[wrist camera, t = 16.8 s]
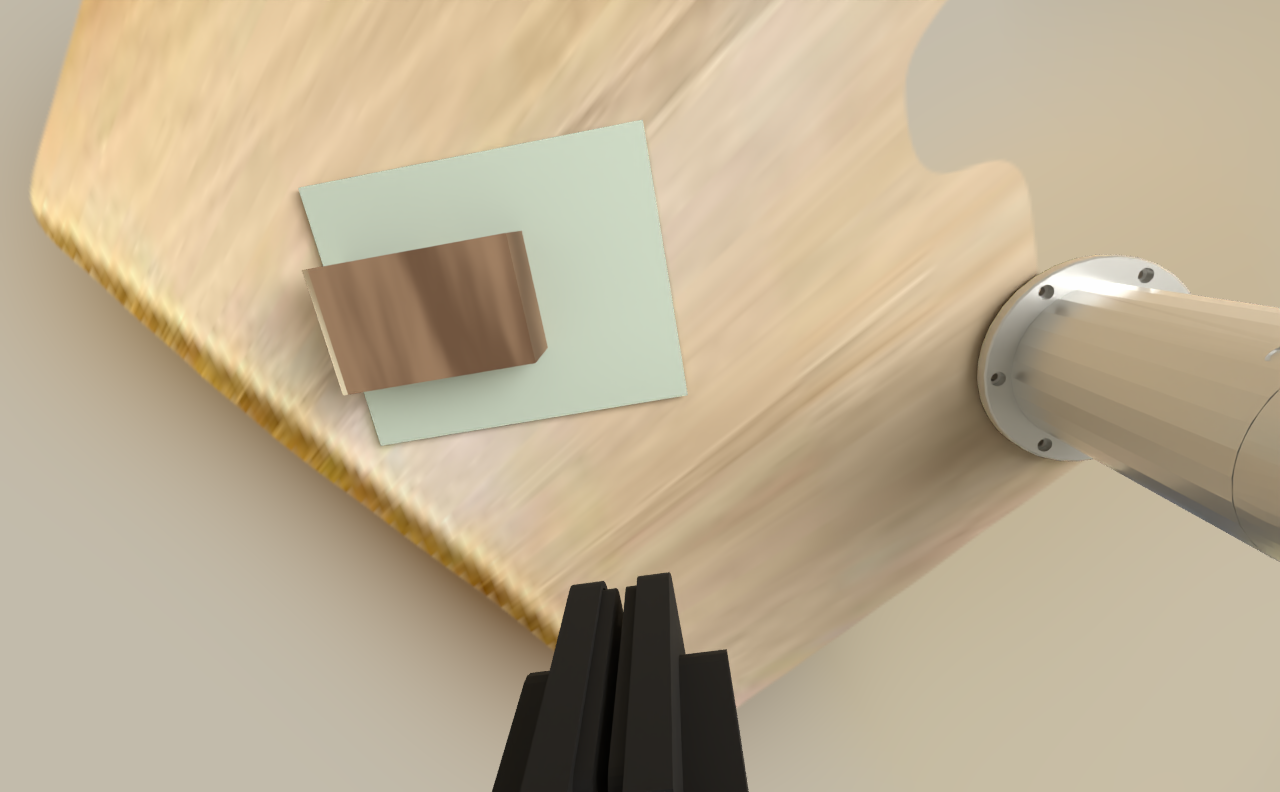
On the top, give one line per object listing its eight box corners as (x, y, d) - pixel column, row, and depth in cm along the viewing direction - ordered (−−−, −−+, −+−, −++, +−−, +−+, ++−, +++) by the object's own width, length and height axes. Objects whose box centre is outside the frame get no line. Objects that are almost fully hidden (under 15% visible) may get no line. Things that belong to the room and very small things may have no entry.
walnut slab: (505, 232, 31) (302, 270, 32) (535, 363, 33) (342, 395, 34) (521, 230, 35) (339, 264, 36) (547, 347, 37) (374, 377, 38)
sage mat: (642, 120, 34) (642, 119, 33) (687, 393, 38) (687, 395, 38) (302, 188, 35) (298, 187, 35) (383, 443, 40) (380, 445, 39)
